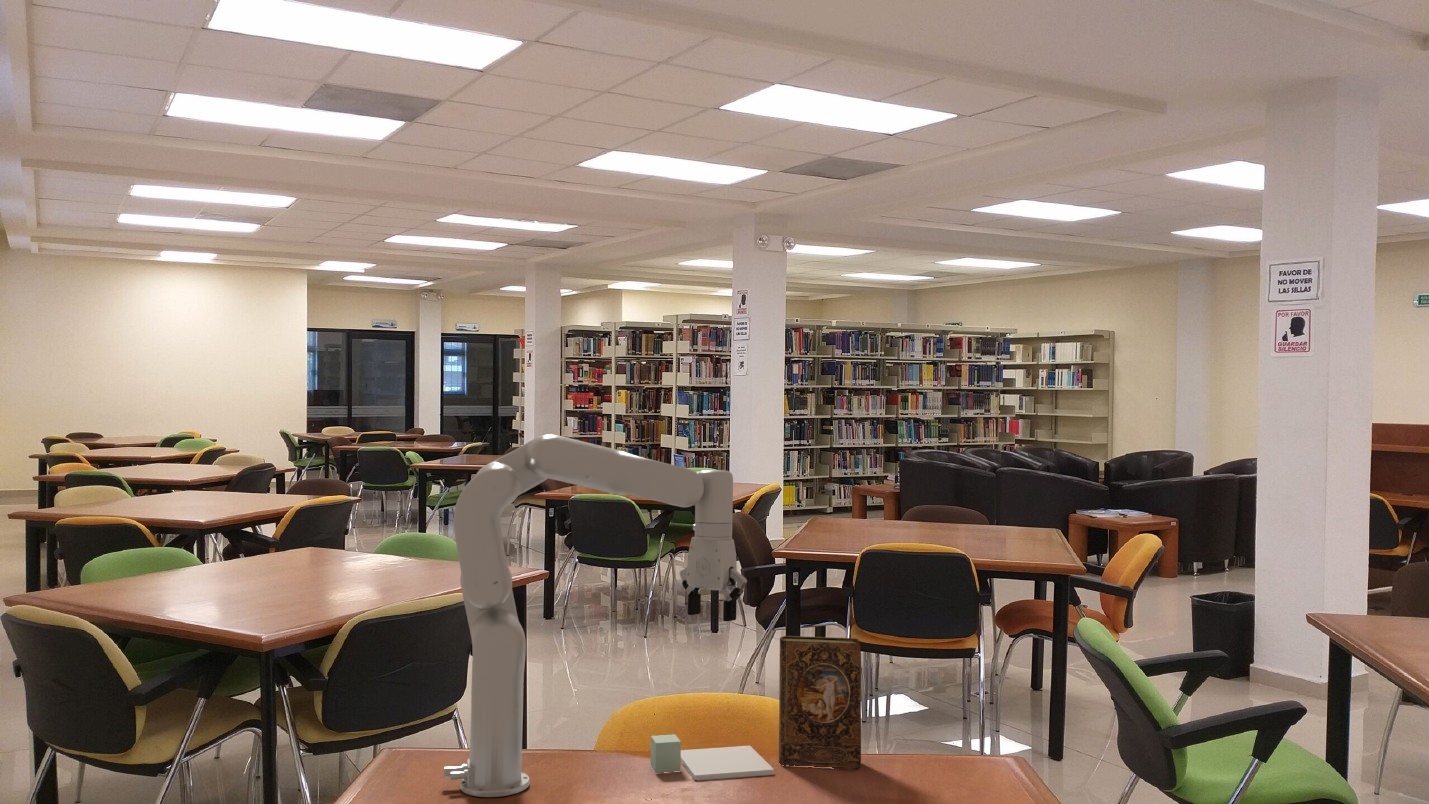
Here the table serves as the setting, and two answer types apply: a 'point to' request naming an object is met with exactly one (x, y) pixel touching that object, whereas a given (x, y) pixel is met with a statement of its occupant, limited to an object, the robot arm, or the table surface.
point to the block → (665, 753)
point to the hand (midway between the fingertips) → (711, 617)
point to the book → (820, 702)
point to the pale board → (724, 763)
